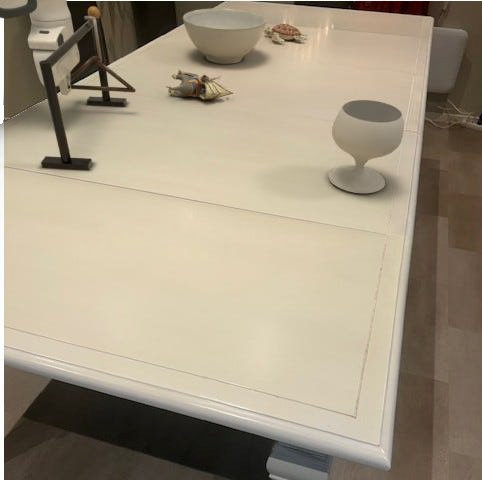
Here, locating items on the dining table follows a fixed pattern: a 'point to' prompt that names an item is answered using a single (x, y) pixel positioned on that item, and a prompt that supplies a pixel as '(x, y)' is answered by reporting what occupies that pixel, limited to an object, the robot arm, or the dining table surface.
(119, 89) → the hanger
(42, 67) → the rail
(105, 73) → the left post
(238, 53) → the decorative bowl
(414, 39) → the dining table surface
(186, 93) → the figurine
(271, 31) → the decorative turtle
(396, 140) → the chalice
